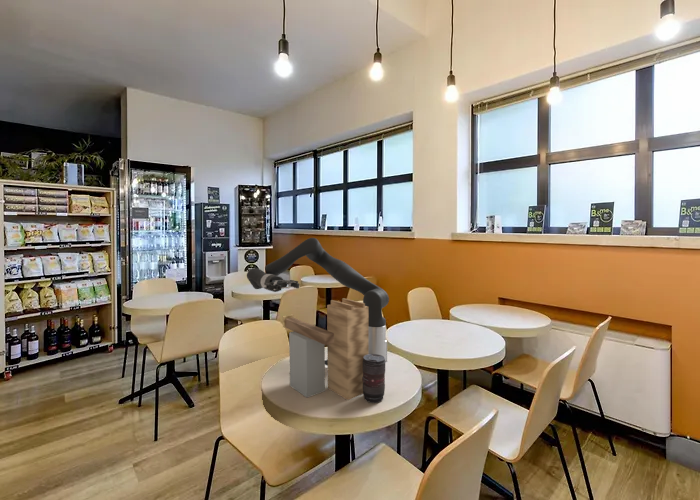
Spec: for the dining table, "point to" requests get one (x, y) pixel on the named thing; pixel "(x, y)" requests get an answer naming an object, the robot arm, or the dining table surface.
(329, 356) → the oak stand
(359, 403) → the dining table surface
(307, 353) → the grey block
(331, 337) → the walnut bar
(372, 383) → the camera lens
